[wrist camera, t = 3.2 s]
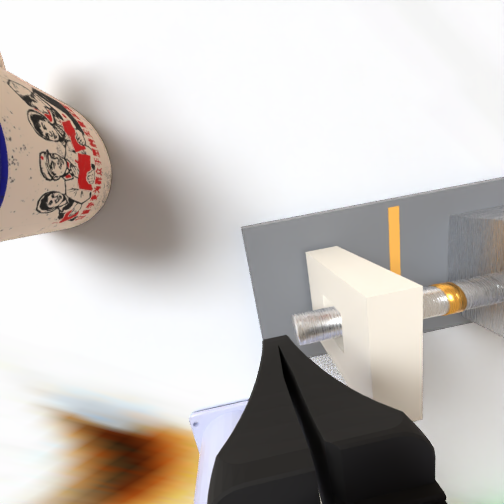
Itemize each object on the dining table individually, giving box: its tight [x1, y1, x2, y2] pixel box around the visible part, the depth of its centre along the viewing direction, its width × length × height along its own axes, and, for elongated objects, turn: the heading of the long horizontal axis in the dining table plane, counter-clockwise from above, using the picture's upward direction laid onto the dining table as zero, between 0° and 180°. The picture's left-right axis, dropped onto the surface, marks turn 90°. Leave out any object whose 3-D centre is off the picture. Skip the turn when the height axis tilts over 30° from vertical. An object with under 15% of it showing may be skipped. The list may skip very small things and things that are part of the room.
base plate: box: [241, 177, 504, 358], centre depth 19 cm, size 12×22×1 cm, turn 100°
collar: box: [305, 246, 423, 421], centre depth 14 cm, size 7×2×8 cm, turn 10°
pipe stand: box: [292, 205, 504, 345], centre depth 14 cm, size 8×19×10 cm, turn 100°
